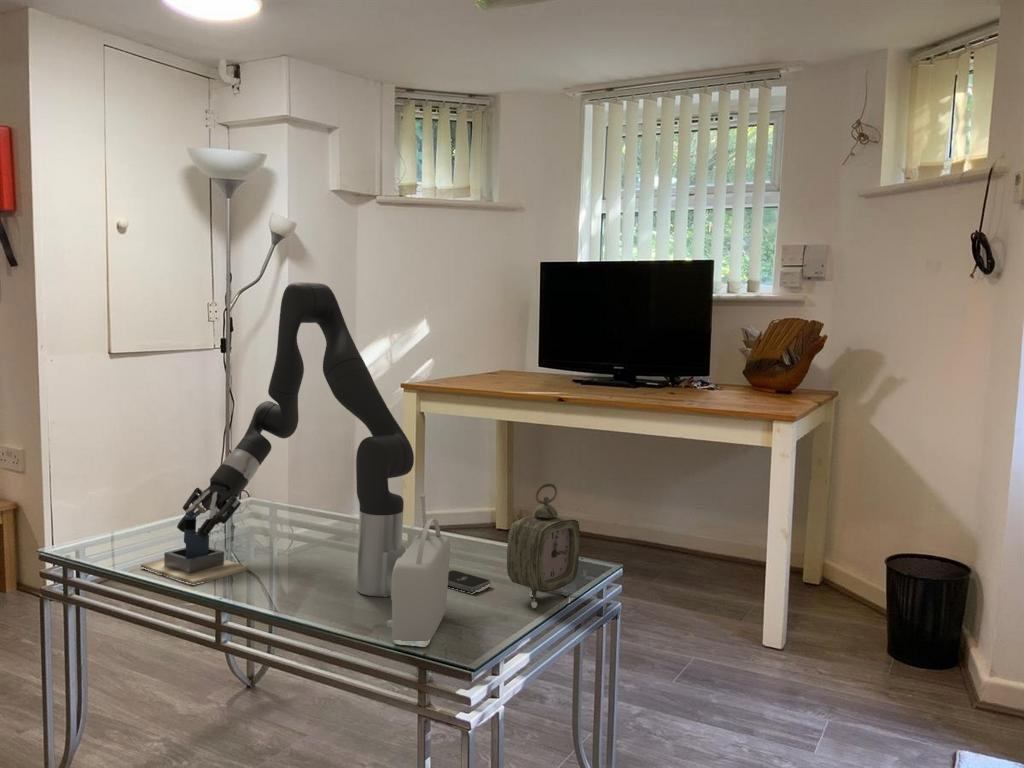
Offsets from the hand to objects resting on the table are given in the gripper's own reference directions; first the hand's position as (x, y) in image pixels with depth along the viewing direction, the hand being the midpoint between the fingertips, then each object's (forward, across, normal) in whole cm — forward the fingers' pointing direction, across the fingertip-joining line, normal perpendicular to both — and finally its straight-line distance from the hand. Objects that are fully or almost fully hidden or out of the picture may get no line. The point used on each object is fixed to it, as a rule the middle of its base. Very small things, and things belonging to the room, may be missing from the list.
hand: (190, 532), depth 176 cm
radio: (+3, +60, +10) cm, 61 cm away
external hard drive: (-15, +52, +29) cm, 61 cm away
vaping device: (+4, 0, +6) cm, 8 cm away
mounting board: (+5, 0, +7) cm, 9 cm away
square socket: (+5, 0, +7) cm, 9 cm away
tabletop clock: (-18, +70, +30) cm, 78 cm away
